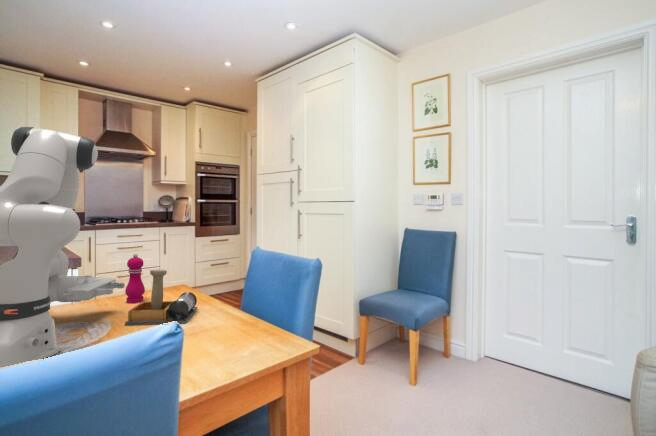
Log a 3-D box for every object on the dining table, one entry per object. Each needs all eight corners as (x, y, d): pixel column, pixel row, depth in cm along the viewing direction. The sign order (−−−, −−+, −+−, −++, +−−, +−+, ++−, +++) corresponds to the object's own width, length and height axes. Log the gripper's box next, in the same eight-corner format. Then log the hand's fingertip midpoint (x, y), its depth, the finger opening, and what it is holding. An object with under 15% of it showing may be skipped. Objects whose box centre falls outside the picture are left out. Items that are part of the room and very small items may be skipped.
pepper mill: (138, 303, 142) (139, 254, 141) (121, 303, 142) (121, 254, 142) (148, 299, 149) (148, 252, 149) (131, 299, 149) (132, 252, 149)
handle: (154, 314, 123) (156, 271, 124) (145, 311, 127) (147, 270, 127) (167, 311, 127) (169, 270, 128) (158, 309, 131) (160, 269, 131)
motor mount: (186, 323, 117) (186, 302, 117) (124, 325, 114) (124, 303, 114) (198, 309, 135) (198, 290, 135) (144, 310, 132) (145, 291, 132)
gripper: (56, 286, 110) (103, 285, 112) (90, 274, 130) (130, 274, 132) (56, 306, 110) (103, 304, 112) (90, 291, 130) (129, 290, 132)
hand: (118, 288), depth 122 cm, fingers open, 8 cm apart
